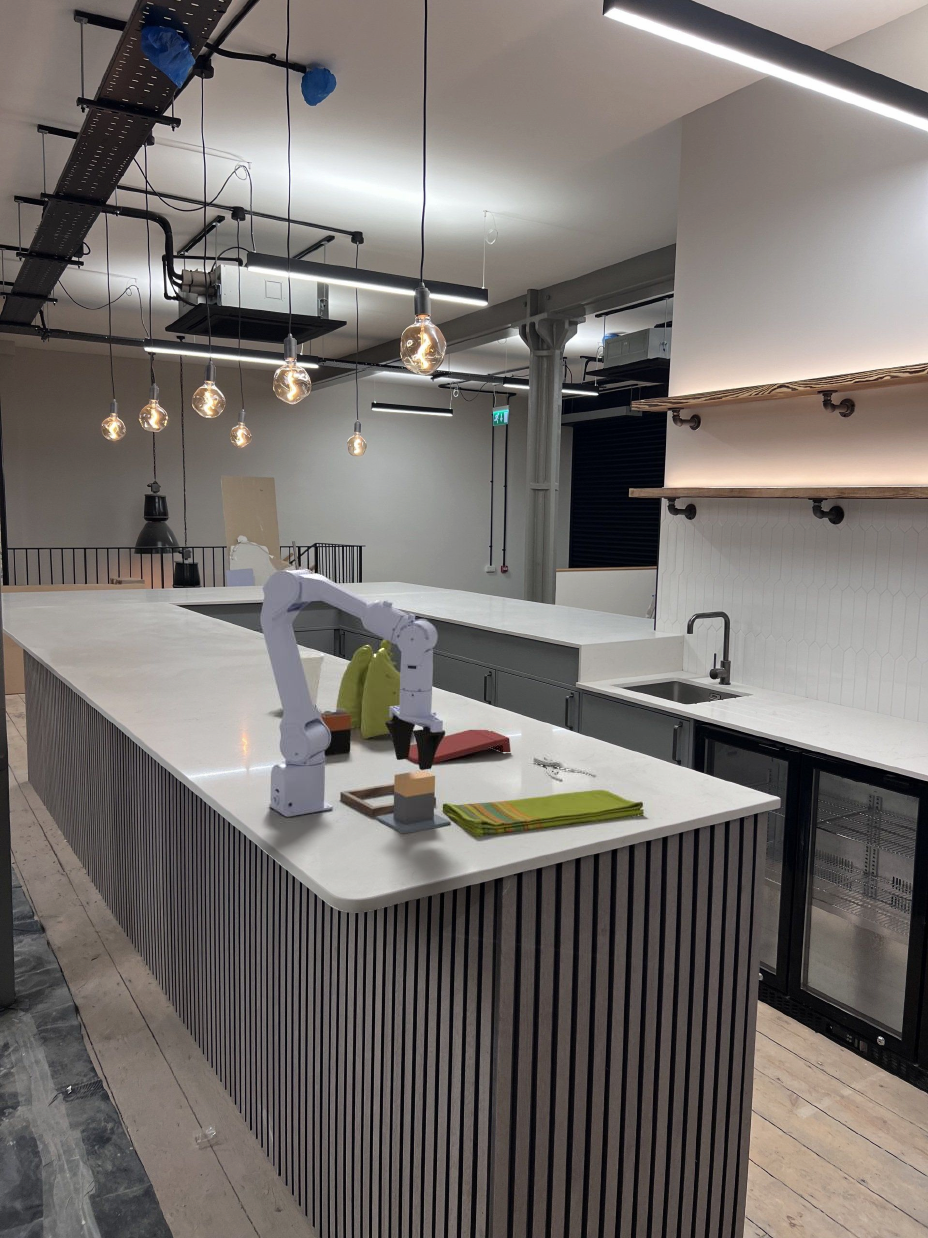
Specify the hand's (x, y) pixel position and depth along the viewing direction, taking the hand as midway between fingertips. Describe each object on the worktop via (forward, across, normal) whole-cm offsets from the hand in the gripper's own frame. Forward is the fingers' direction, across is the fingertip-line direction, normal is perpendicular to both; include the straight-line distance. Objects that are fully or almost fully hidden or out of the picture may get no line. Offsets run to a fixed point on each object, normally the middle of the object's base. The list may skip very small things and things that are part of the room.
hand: (413, 764), depth 158 cm
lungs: (+11, +66, -31) cm, 74 cm away
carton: (+11, +36, -35) cm, 51 cm away
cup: (+11, +102, -27) cm, 107 cm away
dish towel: (+11, -9, -24) cm, 27 cm away
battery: (+11, +50, -11) cm, 53 cm away
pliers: (+11, +13, -47) cm, 50 cm away
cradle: (+10, +11, -2) cm, 15 cm away
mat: (+10, -1, 0) cm, 10 cm away
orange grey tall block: (+10, -1, 0) cm, 10 cm away
